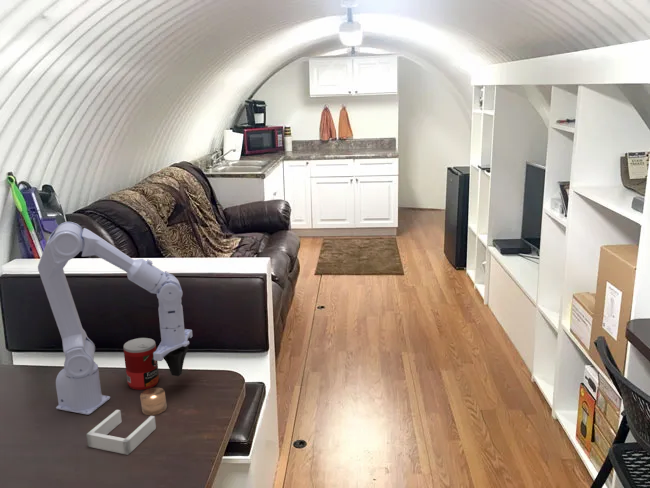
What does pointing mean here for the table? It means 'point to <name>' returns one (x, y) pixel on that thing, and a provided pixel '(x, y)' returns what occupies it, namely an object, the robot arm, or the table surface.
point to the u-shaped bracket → (117, 444)
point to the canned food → (141, 363)
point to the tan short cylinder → (153, 401)
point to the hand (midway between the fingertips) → (176, 374)
